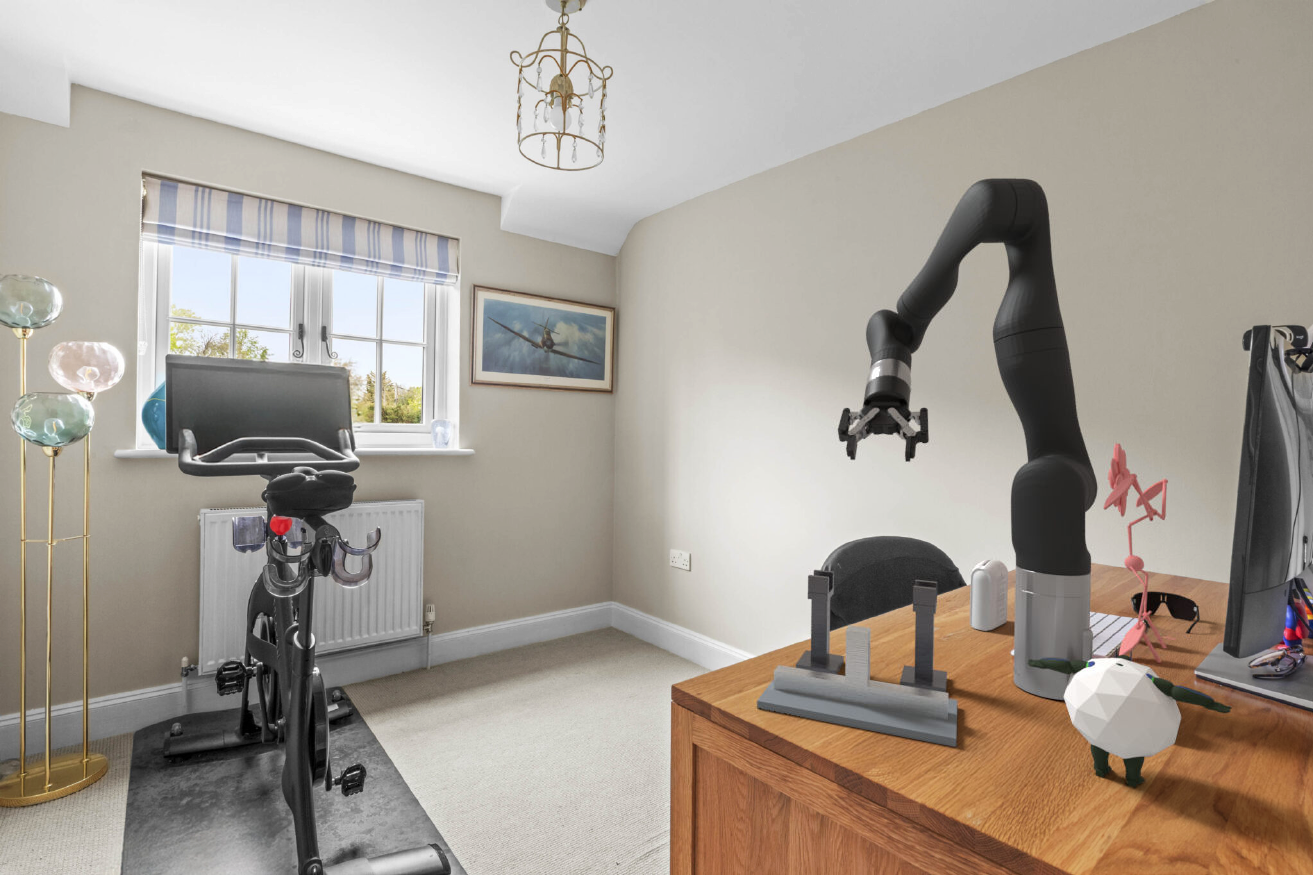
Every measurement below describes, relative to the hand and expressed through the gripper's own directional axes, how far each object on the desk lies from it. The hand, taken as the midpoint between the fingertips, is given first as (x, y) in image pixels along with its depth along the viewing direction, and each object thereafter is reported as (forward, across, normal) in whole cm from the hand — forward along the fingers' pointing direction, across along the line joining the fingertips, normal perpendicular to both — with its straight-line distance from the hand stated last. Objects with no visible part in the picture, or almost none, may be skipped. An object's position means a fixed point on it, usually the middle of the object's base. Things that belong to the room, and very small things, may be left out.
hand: (879, 457), depth 106 cm
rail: (+37, 0, +7) cm, 38 cm away
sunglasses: (-8, +48, +54) cm, 73 cm away
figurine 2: (+42, +28, +4) cm, 50 cm away
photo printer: (+4, +17, +42) cm, 46 cm away
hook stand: (+29, 0, +17) cm, 33 cm away
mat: (+38, 0, +8) cm, 39 cm away
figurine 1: (+6, +36, +40) cm, 54 cm away
